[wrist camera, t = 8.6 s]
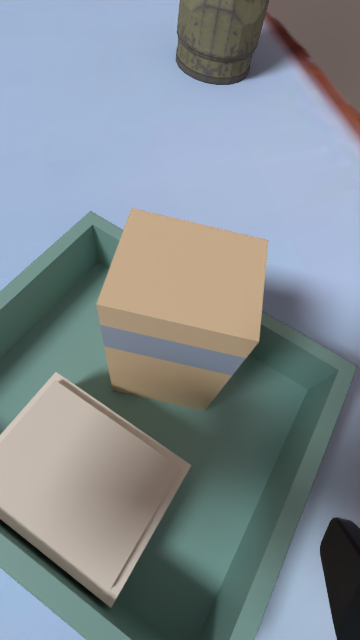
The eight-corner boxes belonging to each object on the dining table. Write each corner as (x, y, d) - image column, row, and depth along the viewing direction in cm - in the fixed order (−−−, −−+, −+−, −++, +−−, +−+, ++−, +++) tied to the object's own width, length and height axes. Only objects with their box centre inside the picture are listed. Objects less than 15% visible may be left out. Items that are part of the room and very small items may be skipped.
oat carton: (204, 411, 20) (259, 341, 11) (112, 390, 20) (96, 304, 11) (215, 342, 22) (268, 240, 13) (132, 324, 22) (131, 208, 13)
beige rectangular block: (114, 590, 16) (110, 610, 13) (-16, 486, 17) (-48, 483, 14) (183, 470, 18) (192, 464, 15) (66, 388, 20) (54, 369, 17)
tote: (193, 682, 15) (214, 746, 11) (-96, 448, 18) (-160, 434, 14) (317, 390, 22) (357, 366, 18) (97, 256, 25) (90, 210, 21)
